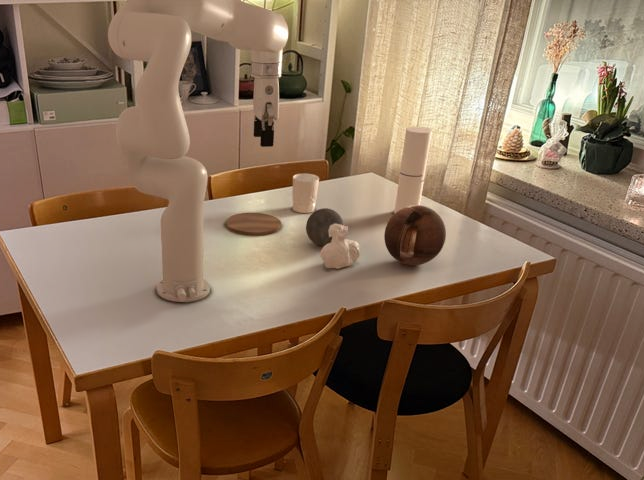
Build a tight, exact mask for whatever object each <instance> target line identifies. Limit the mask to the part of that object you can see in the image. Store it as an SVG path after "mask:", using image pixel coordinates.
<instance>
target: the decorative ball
mask: <svg viewBox="0 0 644 480" xmlns="http://www.w3.org/2000/svg"><path fill="white" fill-rule="evenodd" d="M334 223H335V224H341V225H342V226H344V221H343V219H342V217H341V214H339V213H338V212H337V211H335V210H334V209H332V208H328V207H327V208H326V207H325V208H319V209H317V210H314V211H313V212H311V214H310V215H309V217H308V218H307V220H306V224H305V231H306V235H307V237H308V239H309V240H310V241H311V242H312V243H313V244H314V245H317V246H320V247H324V246H325V245H326V244H328V243H331V240H332V236H331V237H329V233H328V230H329V227H330V225H332V224H334Z"/></svg>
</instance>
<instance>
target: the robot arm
mask: <svg viewBox="0 0 644 480" xmlns="http://www.w3.org/2000/svg"><path fill="white" fill-rule="evenodd" d="M113 15H114V16H113V17H112V18H111V21H110V23H109V26H108V29H107V39H108V40H107V41H108V44H109V47H110V49H111V50H112V52H113V53H114V54H115V55H116V56H117V57H119V58H121V59H124V60H130V61H138V62H147V64H146V66H145V68H144V70H143V72H142V74H141V76H140V78H139V80H138V82H137V84H136V87H135V102H136V106H129V107H126V108H125V109H124V110H122V112H121V113H120V114H119V116H118V117H117V120H116V125H115V141H116V144H117V147H118V151H119V153H120V156H121V158H122V161H123V164H124V167H125V170H126V172H127V175H128V178H129V180H130V182H131V184H132V186H133V187H134V188H135V189H136V191H138V192H139V193H141V194H145V195H149V196H153V197H157V198H162V199H165V200H167V201H168V204H167V206H166V208H165V209H164V211H163V212H162V214H161V217H160V241H161V242H160V243H161V264H162V265H161V266H162V267H161V268H162V280H160V281H159V282H158V283H157V285H156V293H157V295H158V296H159V297H161V298H162V299H164V300H166V301H169V302H175V303H191V302H196V301H199V300H202V299H204V298H206V297H207V296H208V295H209V294H210V292H211V285H210V283H209V282H208V281H207V280H206V279H204V206H205V197H206V194H207V193H206V192H207V187H208V181H209V179H208V177H209V176H208V171H207V169H206V167H205V165H204V164H203V163H202V162H200V161H199V160H197V159H195V158H193V157H190V156H186V155H187V154H188V151H189V149H190V146H191V138H190V137H191V136H190V132H189V127H188V124H187V121H186V117H185V113H184V109H183V105H182V101H181V96H180V91H179V85H180V79H181V75H182V72H183V69H184V66H185V64H186V61H187V59H188V56H189V54H190V51H191V47H192V32H194V33H197V34H200V35H203V36H205V37H207V38H210V39H212V40H215V41H220V42H226V43H228V44H229V45H230V46H231V47H232V48H234V49H236V50H241V51H250V77H251V78H254V80H253V96H252V97H253V102H252V105H253V106H252V107H253V109H252V110H253V114H254V117H253V118H254V119H253V137H254V138H260V140H259V141H260V144H259V145H260V147H261V148H269V147H270V148H271V147H274V140H275V121H278V120H279V117H280V116H279V115H280V114H279V113H280V112H279V111H280V85H279V79H280V78H281V77H282V74H283V73H282V71H283V53H284V51H283V49H284V48H285V47H286V45H287V43H288V40H289V27H288V23H287V22H286V20H285V17H284V16H283V14H281V13H279V12H275V11H273V10H271V9H268V8H265V7H262V6H260V5H259V6H258V5H255V4H252V3H248V2H245V1H242V0H127V1H126V2H125V3H124V4H123V5H122V6H121V7H120V8H119V9H118V10H117V12H116V13H115V14H113Z"/></svg>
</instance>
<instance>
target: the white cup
mask: <svg viewBox="0 0 644 480" xmlns="http://www.w3.org/2000/svg"><path fill="white" fill-rule="evenodd" d="M319 182H320V177H319V176H318V175H317V174H314V173H313V174H312V173H296V174H294V175H292V194H291V195H292V210H293V211H294V212H296V213H299V214H300V213H301V214H309V213H313V212H315V209H316V202H317V198H318V189H319Z"/></svg>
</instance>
